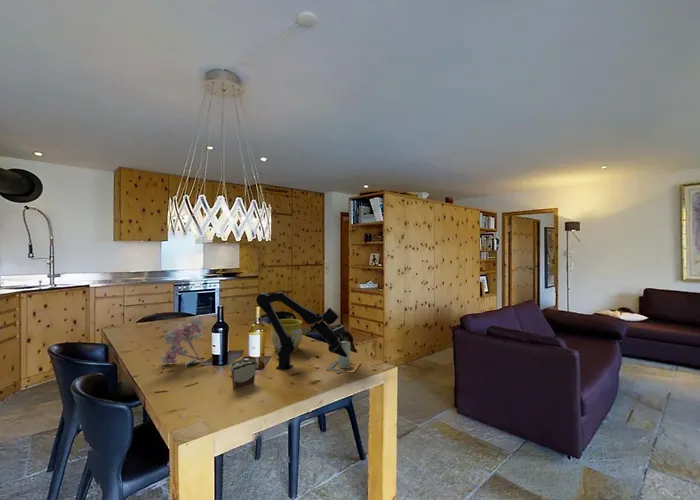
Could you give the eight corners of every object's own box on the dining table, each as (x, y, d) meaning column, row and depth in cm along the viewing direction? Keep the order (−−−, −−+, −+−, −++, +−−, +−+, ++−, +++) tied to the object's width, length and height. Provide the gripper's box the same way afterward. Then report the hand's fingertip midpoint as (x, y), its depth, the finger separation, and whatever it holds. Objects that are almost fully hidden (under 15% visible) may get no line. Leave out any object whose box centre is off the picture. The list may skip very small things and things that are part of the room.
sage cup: (348, 369, 173) (348, 344, 173) (336, 368, 175) (336, 343, 175) (351, 365, 179) (351, 341, 179) (340, 364, 180) (340, 340, 180)
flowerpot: (264, 351, 202) (264, 323, 202) (283, 344, 218) (283, 317, 218) (290, 356, 194) (290, 326, 194) (308, 348, 210) (308, 320, 210)
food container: (248, 379, 159) (248, 357, 159) (257, 382, 155) (257, 359, 155) (223, 387, 150) (223, 363, 150) (231, 391, 146) (232, 367, 146)
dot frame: (354, 373, 168) (354, 372, 168) (326, 370, 172) (326, 369, 172) (361, 364, 182) (361, 363, 182) (334, 361, 185) (334, 360, 185)
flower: (194, 350, 198) (173, 313, 189) (221, 352, 186) (200, 312, 178) (164, 376, 182) (140, 336, 174) (191, 380, 170) (167, 338, 162)
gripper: (335, 323, 167) (358, 347, 167) (337, 316, 186) (358, 337, 186) (318, 340, 167) (342, 364, 167) (322, 331, 186) (343, 352, 186)
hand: (347, 353), depth 177 cm, fingers open, 9 cm apart
